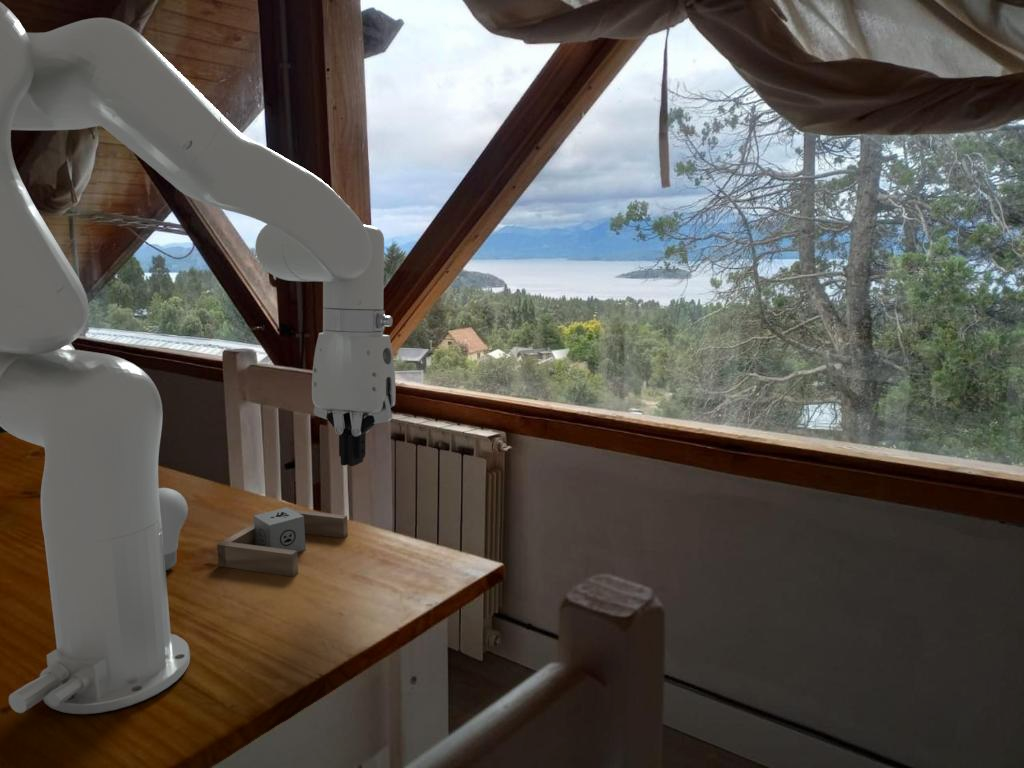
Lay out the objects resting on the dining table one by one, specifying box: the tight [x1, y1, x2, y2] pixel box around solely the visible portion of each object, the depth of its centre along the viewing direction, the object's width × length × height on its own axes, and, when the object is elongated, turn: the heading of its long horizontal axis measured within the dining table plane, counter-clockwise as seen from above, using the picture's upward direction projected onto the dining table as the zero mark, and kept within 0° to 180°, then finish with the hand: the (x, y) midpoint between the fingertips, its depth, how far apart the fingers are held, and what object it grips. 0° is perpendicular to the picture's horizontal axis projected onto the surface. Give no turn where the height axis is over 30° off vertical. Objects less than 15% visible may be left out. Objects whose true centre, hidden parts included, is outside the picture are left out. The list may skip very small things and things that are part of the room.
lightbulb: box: [159, 487, 189, 571], centre depth 91 cm, size 6×6×11 cm
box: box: [216, 507, 349, 577], centre depth 98 cm, size 14×11×3 cm
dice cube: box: [253, 506, 306, 553], centre depth 98 cm, size 5×5×5 cm
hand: (352, 463), depth 92 cm, fingers closed
